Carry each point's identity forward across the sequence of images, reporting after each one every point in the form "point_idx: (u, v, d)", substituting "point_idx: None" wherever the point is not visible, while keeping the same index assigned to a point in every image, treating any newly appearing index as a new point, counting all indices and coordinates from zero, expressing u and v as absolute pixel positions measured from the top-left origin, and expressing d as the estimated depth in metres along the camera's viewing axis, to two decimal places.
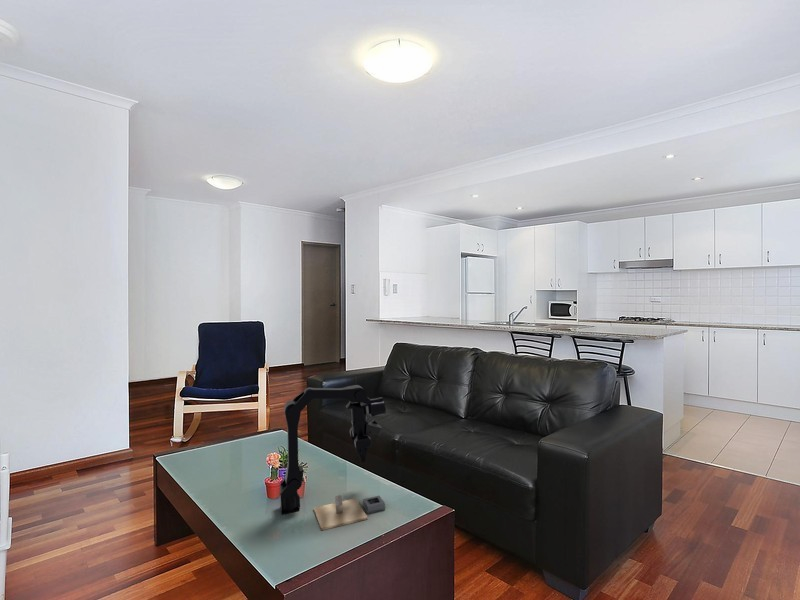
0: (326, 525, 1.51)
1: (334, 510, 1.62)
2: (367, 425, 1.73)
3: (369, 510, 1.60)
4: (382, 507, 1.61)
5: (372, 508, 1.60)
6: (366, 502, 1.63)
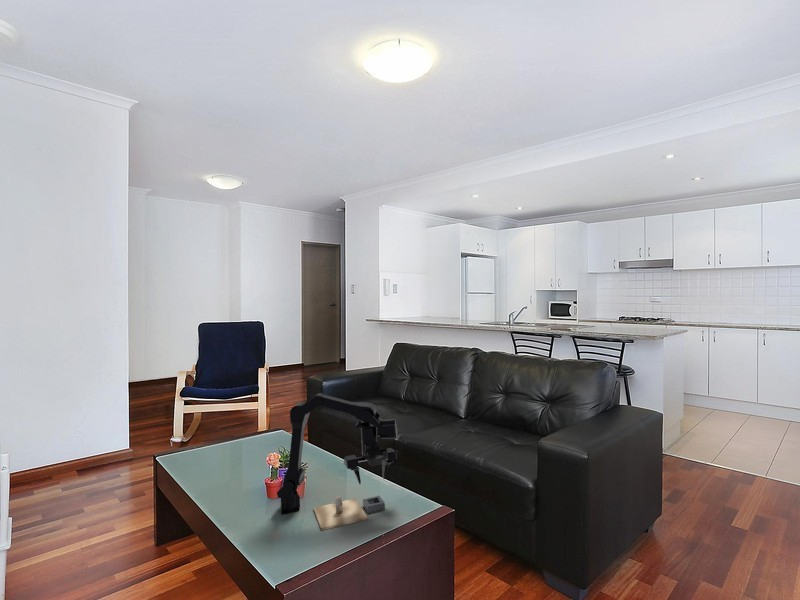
0: (326, 525, 1.51)
1: (334, 510, 1.62)
2: (365, 449, 1.60)
3: (369, 510, 1.60)
4: (382, 507, 1.61)
5: (372, 508, 1.60)
6: (366, 502, 1.63)
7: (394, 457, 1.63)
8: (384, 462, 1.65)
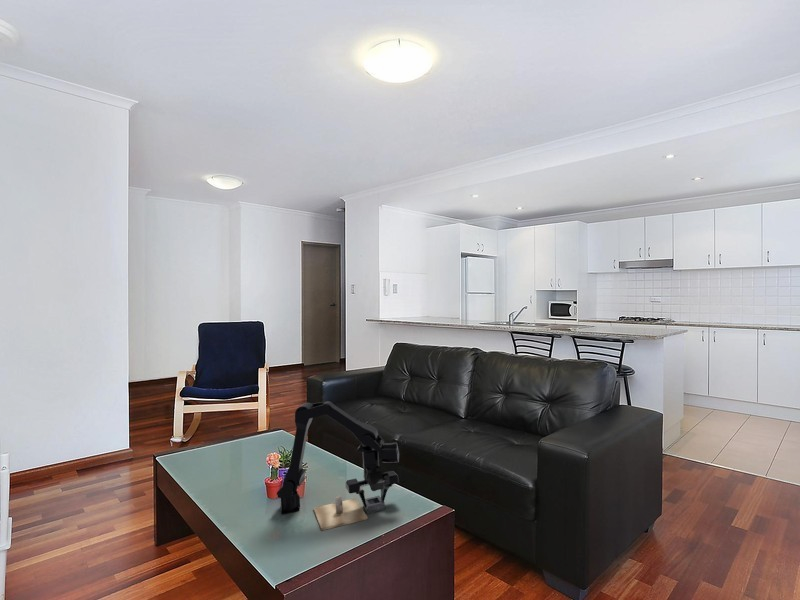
0: (326, 525, 1.51)
1: (334, 510, 1.62)
2: (367, 473, 1.60)
3: (369, 510, 1.60)
4: (382, 507, 1.61)
5: (372, 508, 1.60)
6: (366, 502, 1.63)
7: (396, 481, 1.63)
8: None
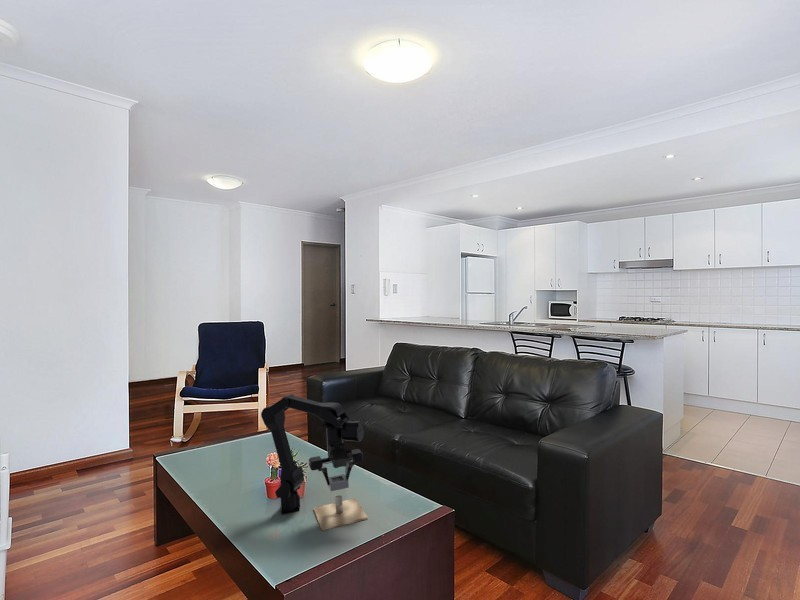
0: (326, 525, 1.51)
1: (334, 510, 1.62)
2: (330, 450, 1.57)
3: (332, 488, 1.56)
4: (346, 485, 1.58)
5: (335, 486, 1.57)
6: (330, 480, 1.59)
7: (360, 458, 1.60)
8: (347, 464, 1.61)
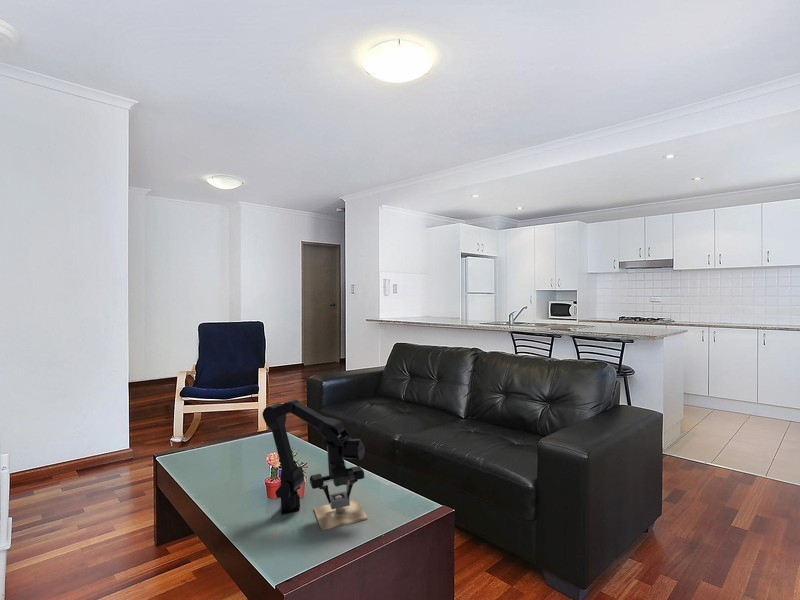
0: (326, 525, 1.51)
1: (334, 510, 1.62)
2: (331, 468, 1.57)
3: (333, 506, 1.56)
4: (347, 503, 1.58)
5: (336, 504, 1.57)
6: (331, 498, 1.59)
7: (361, 476, 1.60)
8: (348, 482, 1.61)
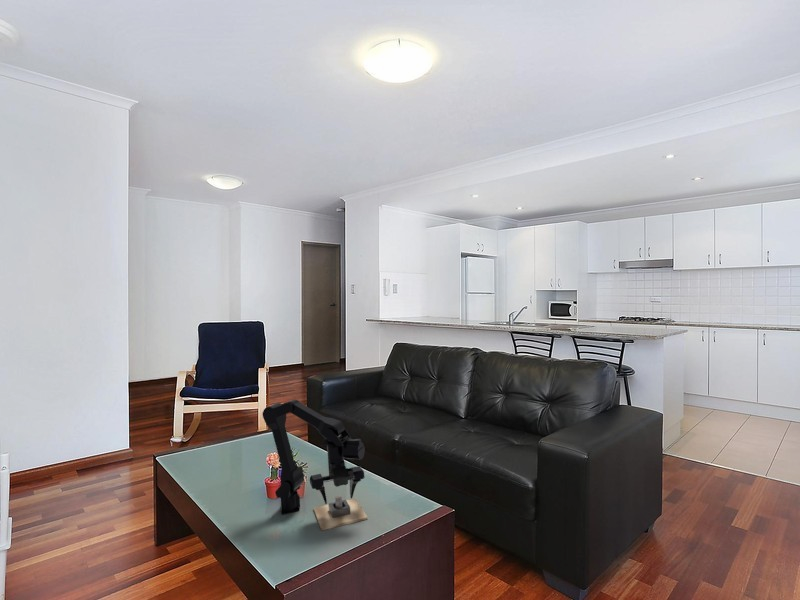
0: (326, 525, 1.51)
1: None
2: (331, 468, 1.57)
3: (334, 515, 1.56)
4: (347, 511, 1.58)
5: (337, 513, 1.57)
6: (331, 506, 1.59)
7: (361, 476, 1.60)
8: (351, 481, 1.61)
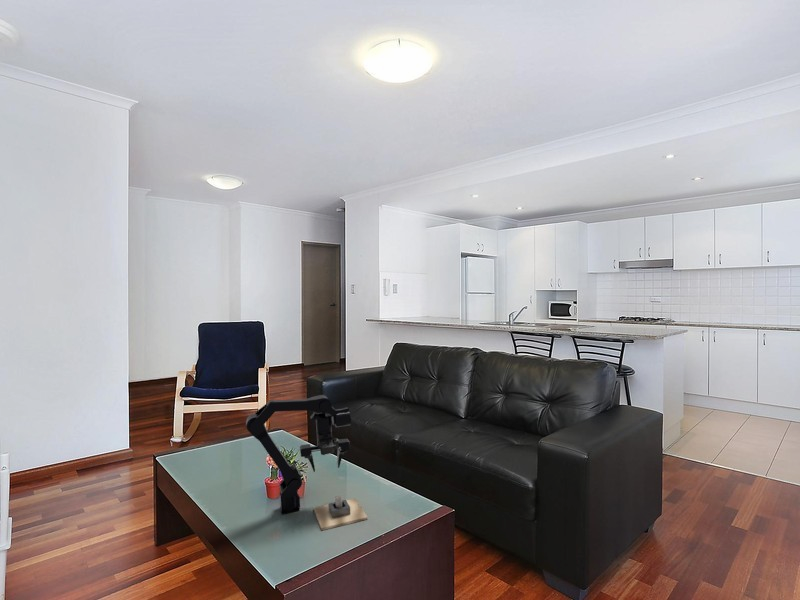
0: (326, 525, 1.51)
1: None
2: (318, 438, 1.68)
3: (334, 515, 1.56)
4: (347, 511, 1.58)
5: (337, 513, 1.57)
6: (331, 506, 1.59)
7: (347, 447, 1.71)
8: (338, 452, 1.73)
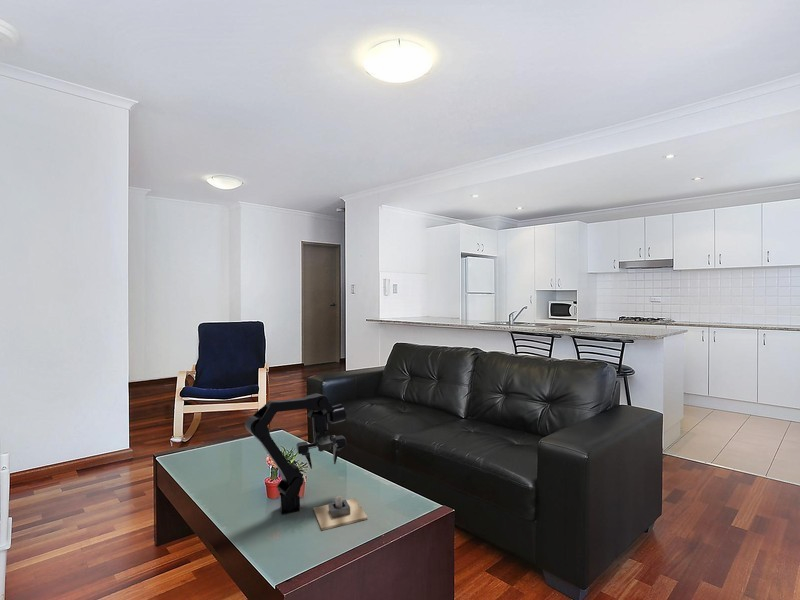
0: (326, 525, 1.51)
1: None
2: (315, 435, 1.72)
3: (334, 515, 1.56)
4: (347, 511, 1.58)
5: (337, 513, 1.57)
6: (331, 506, 1.59)
7: (343, 443, 1.75)
8: (334, 448, 1.77)
